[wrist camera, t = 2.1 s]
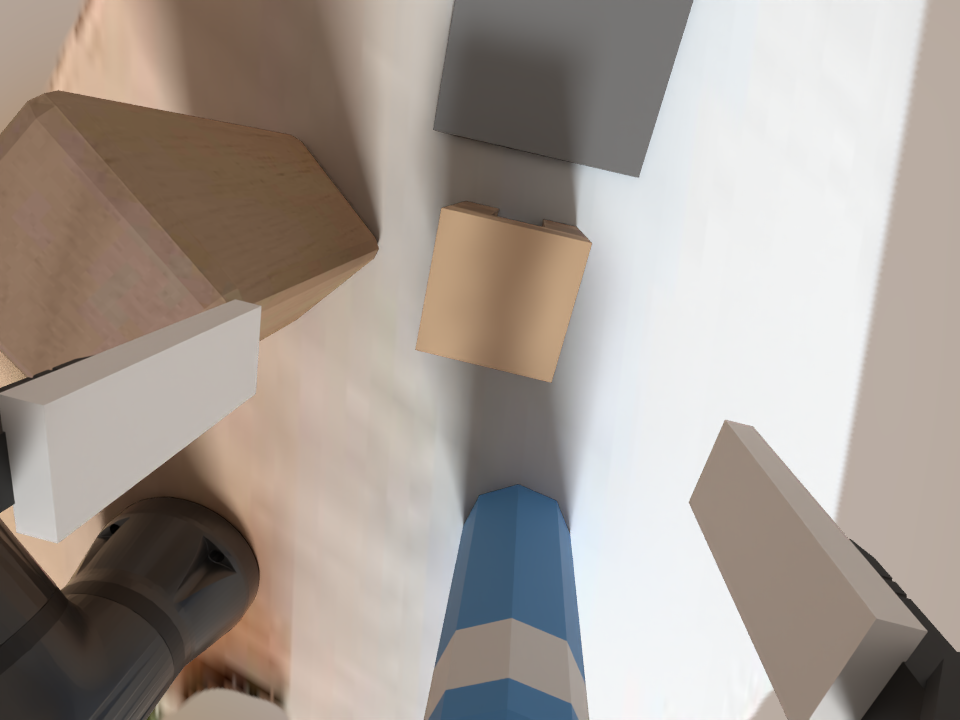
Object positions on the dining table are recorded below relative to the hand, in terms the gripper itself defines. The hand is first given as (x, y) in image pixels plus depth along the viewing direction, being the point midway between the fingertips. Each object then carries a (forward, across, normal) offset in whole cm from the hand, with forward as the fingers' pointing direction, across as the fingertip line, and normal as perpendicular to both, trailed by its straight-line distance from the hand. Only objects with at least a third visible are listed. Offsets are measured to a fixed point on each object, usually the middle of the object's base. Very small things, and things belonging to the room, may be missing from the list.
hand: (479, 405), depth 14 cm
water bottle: (+24, +5, -22) cm, 33 cm away
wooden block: (+24, -17, -1) cm, 29 cm away
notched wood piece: (+24, -1, 0) cm, 24 cm away
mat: (+24, -1, +15) cm, 28 cm away
